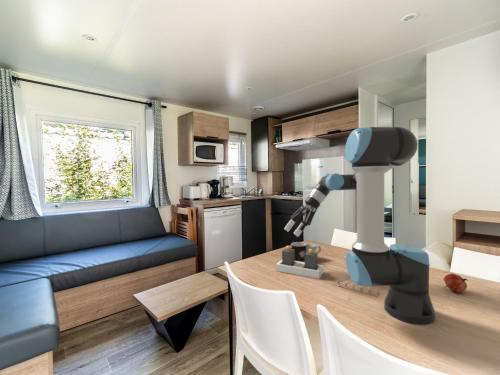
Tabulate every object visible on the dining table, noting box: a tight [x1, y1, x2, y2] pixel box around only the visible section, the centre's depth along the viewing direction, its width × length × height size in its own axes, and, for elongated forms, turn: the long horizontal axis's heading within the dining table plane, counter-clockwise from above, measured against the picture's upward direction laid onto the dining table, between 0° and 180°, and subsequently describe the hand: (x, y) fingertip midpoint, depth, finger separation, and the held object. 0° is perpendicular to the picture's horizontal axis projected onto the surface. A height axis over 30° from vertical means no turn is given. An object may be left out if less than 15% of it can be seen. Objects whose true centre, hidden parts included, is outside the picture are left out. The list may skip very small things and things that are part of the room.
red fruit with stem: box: [443, 273, 468, 294], centre depth 104 cm, size 7×7×10 cm
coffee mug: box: [290, 241, 308, 262], centre depth 144 cm, size 12×9×10 cm
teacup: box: [306, 243, 322, 255], centre depth 148 cm, size 14×11×8 cm
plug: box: [281, 245, 295, 266], centre depth 131 cm, size 5×5×12 cm
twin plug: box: [304, 249, 319, 270], centre depth 124 cm, size 5×5×12 cm
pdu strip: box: [275, 259, 325, 280], centre depth 128 cm, size 9×22×4 cm, turn 60°
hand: (290, 232), depth 129 cm, fingers open, 13 cm apart
